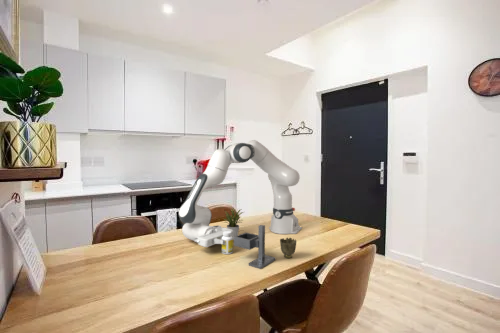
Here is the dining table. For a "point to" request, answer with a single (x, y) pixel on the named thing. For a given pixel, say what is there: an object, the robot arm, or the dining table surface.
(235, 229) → the house plant
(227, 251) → the supplement bottle
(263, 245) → the cup bracket
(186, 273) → the dining table surface
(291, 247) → the cup
